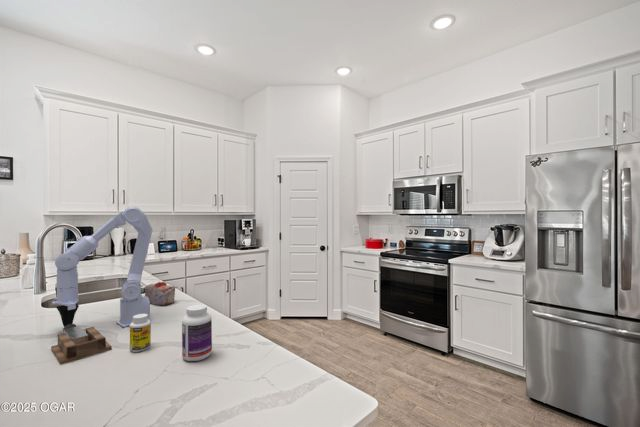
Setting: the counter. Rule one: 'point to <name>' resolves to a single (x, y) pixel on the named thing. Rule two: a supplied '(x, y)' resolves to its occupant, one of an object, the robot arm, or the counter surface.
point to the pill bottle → (196, 333)
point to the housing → (80, 346)
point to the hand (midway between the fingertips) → (67, 325)
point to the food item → (160, 293)
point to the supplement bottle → (140, 333)
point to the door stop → (76, 333)
